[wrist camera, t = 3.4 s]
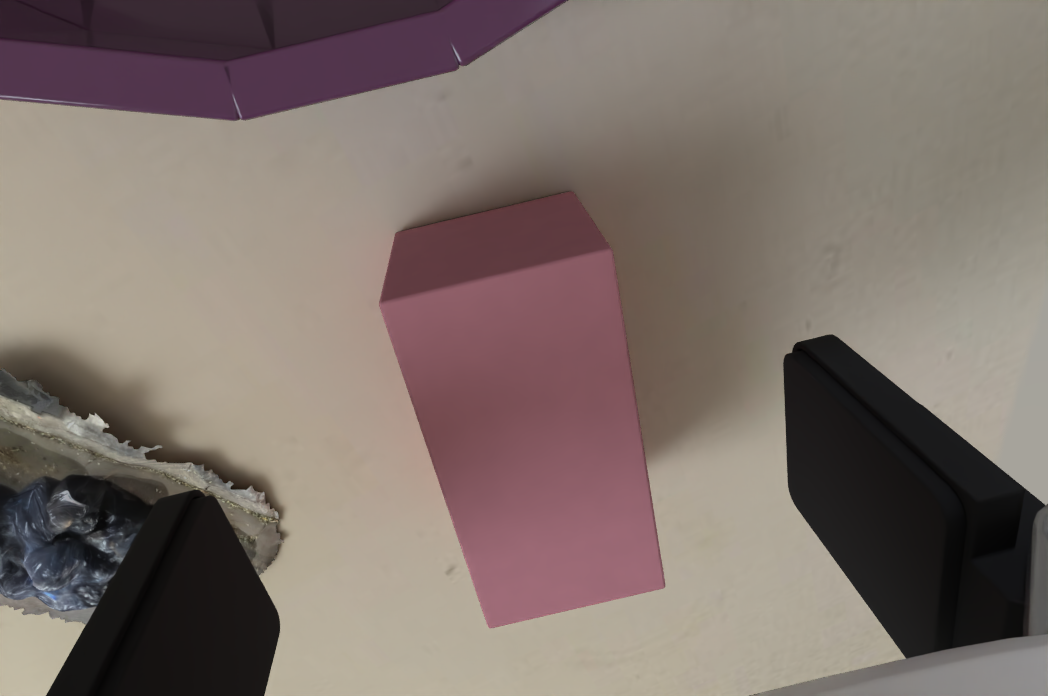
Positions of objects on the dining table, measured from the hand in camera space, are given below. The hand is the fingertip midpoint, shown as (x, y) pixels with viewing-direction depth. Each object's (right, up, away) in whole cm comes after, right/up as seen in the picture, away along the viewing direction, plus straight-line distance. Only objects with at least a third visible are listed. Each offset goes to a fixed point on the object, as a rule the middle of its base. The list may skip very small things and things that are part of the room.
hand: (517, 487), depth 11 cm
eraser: (0, +2, +3) cm, 4 cm away
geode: (-9, -1, +4) cm, 10 cm away
